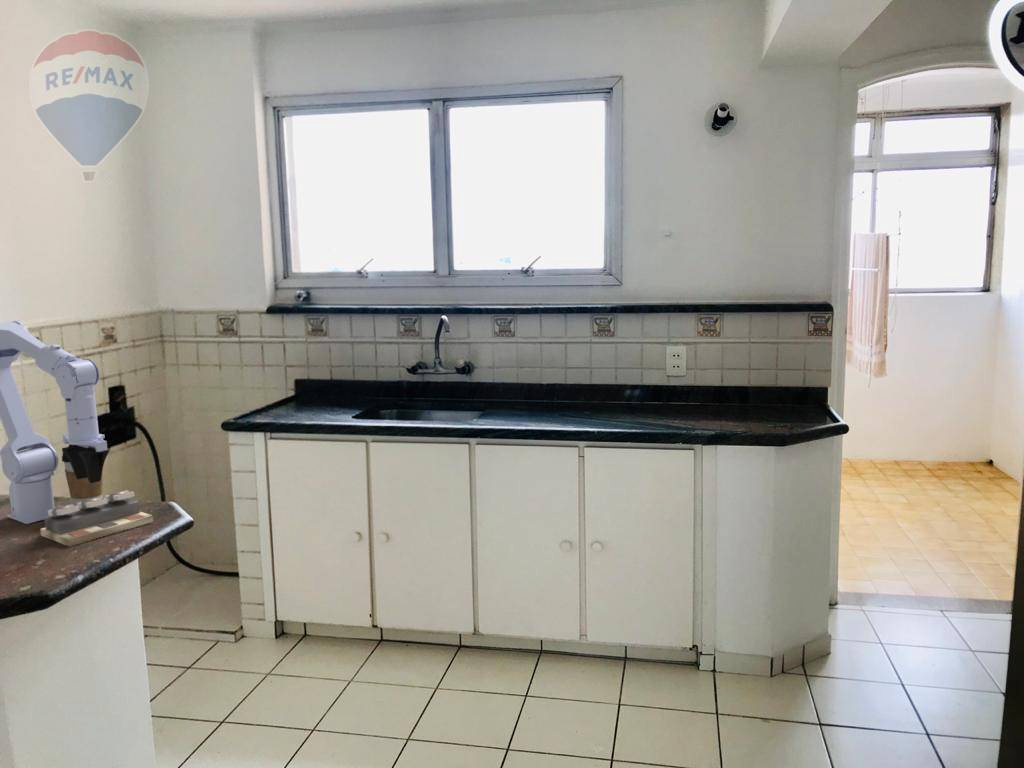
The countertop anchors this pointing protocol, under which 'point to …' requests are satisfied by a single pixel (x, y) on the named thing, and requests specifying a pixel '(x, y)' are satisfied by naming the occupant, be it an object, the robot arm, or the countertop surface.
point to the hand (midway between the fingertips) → (88, 480)
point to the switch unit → (95, 522)
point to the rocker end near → (63, 510)
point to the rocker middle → (92, 503)
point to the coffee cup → (81, 485)
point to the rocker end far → (119, 496)
